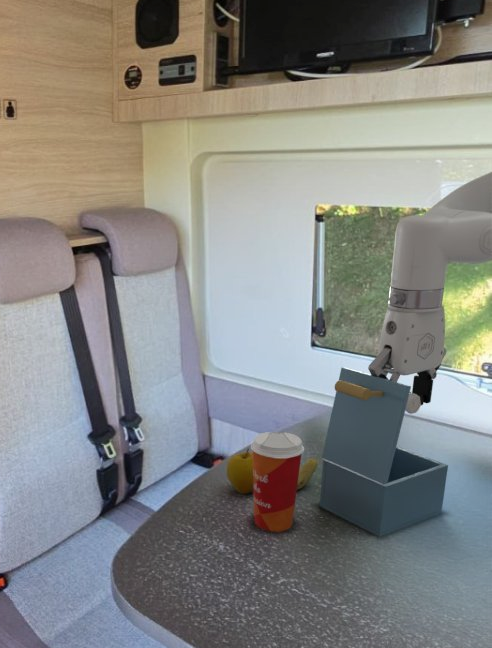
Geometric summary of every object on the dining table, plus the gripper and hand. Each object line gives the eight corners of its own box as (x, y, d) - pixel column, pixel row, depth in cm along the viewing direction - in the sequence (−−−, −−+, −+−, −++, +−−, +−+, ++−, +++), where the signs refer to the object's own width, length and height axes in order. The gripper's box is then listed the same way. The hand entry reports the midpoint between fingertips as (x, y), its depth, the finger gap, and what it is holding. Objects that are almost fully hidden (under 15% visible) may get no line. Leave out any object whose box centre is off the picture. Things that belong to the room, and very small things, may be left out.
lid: (344, 367, 117) (320, 366, 114) (411, 386, 106) (386, 386, 104) (324, 457, 121) (300, 458, 118) (387, 484, 110) (362, 486, 108)
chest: (379, 486, 130) (383, 441, 127) (441, 513, 120) (448, 465, 117) (319, 506, 124) (323, 459, 121) (379, 537, 113) (385, 486, 110)
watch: (397, 419, 114) (400, 398, 112) (373, 411, 118) (375, 390, 116) (430, 410, 117) (433, 389, 116) (406, 402, 121) (408, 382, 120)
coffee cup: (247, 510, 124) (250, 429, 119) (296, 512, 122) (302, 430, 117) (248, 534, 116) (251, 448, 111) (301, 537, 115) (307, 450, 109)
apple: (256, 482, 134) (258, 442, 131) (266, 497, 128) (268, 456, 125) (222, 484, 134) (223, 444, 131) (230, 499, 128) (231, 458, 125)
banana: (307, 474, 136) (309, 455, 135) (320, 478, 134) (321, 458, 133) (281, 493, 129) (282, 473, 128) (294, 497, 128) (295, 476, 126)
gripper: (396, 310, 104) (384, 423, 110) (474, 294, 111) (459, 402, 117) (355, 302, 110) (346, 410, 116) (432, 288, 118) (419, 390, 124)
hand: (402, 405), depth 117 cm, fingers closed on watch, 7 cm apart
